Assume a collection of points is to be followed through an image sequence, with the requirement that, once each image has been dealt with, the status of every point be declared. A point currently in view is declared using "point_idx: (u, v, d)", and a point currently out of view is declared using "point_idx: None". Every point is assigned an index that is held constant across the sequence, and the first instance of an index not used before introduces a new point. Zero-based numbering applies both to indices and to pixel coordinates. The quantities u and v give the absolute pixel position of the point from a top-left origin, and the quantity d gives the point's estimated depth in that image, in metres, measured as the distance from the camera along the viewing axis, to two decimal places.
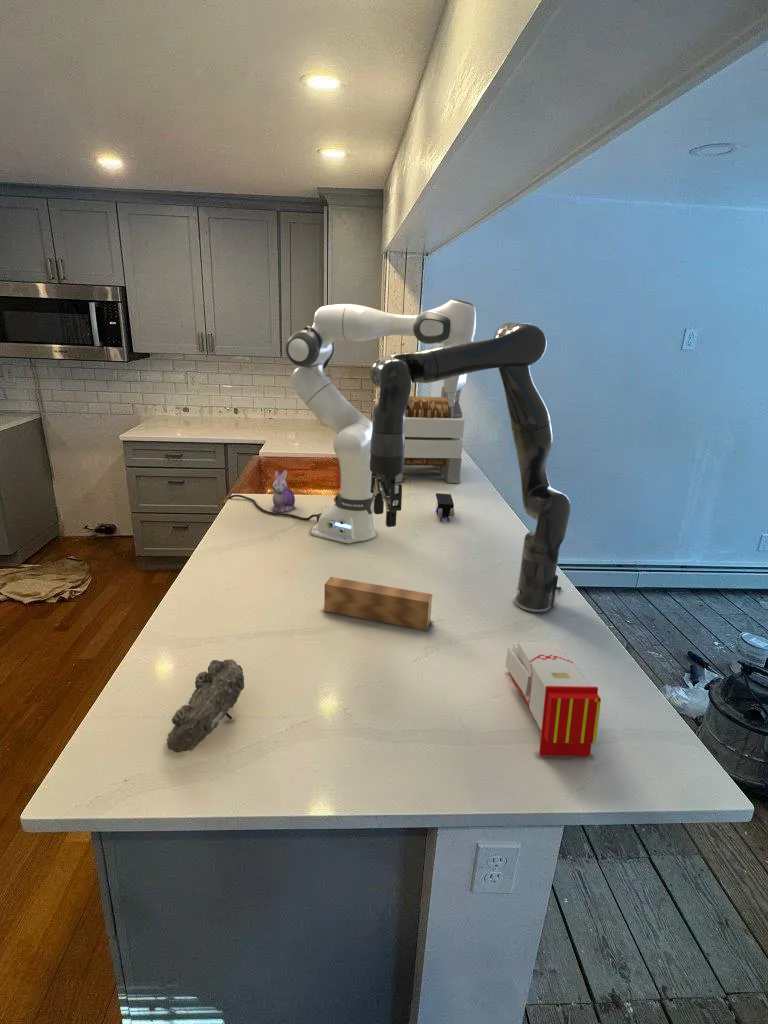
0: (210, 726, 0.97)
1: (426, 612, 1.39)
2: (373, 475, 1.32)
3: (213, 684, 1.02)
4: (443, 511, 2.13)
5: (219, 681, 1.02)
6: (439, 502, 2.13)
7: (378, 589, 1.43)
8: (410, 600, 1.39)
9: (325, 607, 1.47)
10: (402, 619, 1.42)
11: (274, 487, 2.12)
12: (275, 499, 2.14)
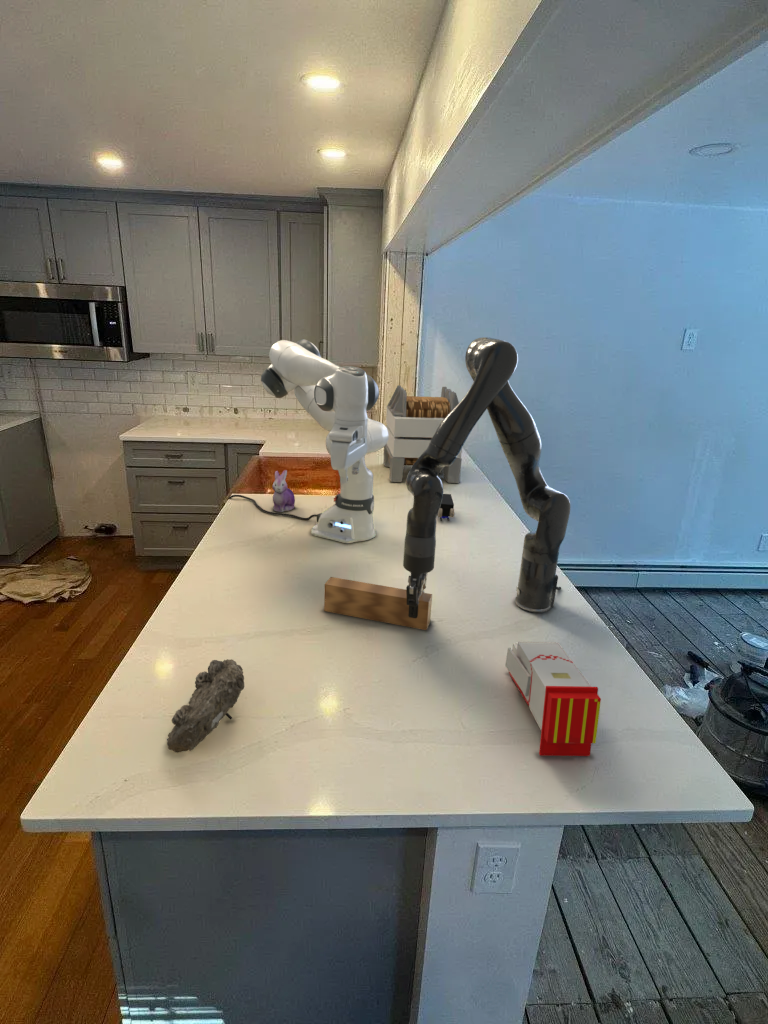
0: (210, 726, 0.97)
1: (426, 612, 1.39)
2: None
3: (213, 684, 1.02)
4: (443, 511, 2.13)
5: (219, 681, 1.02)
6: None
7: (378, 589, 1.43)
8: None
9: (325, 607, 1.47)
10: (402, 619, 1.42)
11: (274, 487, 2.12)
12: (275, 499, 2.14)
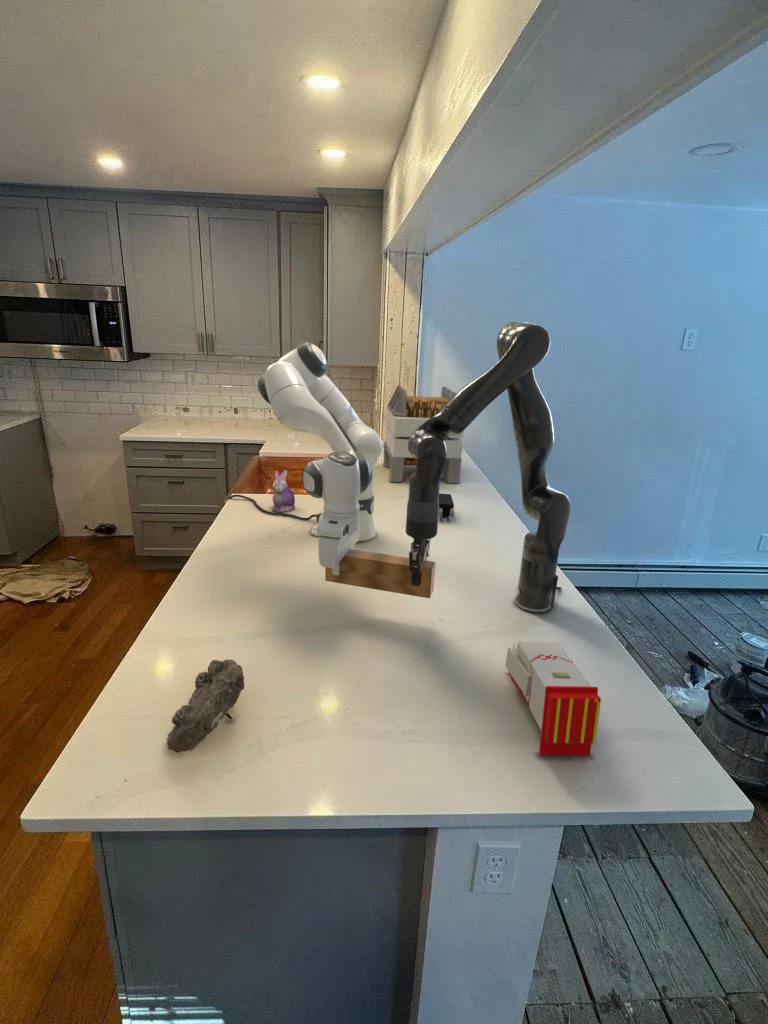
0: (210, 726, 0.97)
1: (429, 580, 1.36)
2: None
3: (213, 684, 1.02)
4: (443, 511, 2.13)
5: (219, 681, 1.02)
6: (439, 502, 2.13)
7: (380, 558, 1.40)
8: None
9: (326, 576, 1.44)
10: (405, 588, 1.39)
11: (274, 487, 2.12)
12: (275, 499, 2.14)
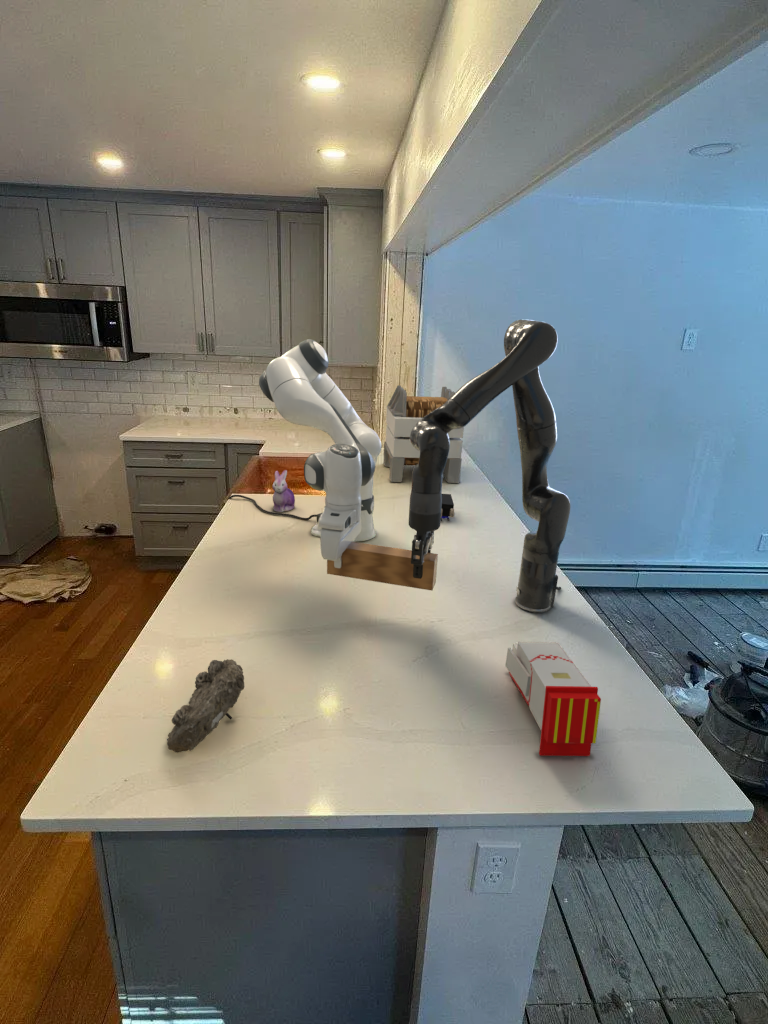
0: (210, 726, 0.97)
1: (432, 572, 1.36)
2: None
3: (213, 684, 1.02)
4: (443, 511, 2.13)
5: (219, 681, 1.02)
6: None
7: (382, 550, 1.39)
8: None
9: (328, 569, 1.43)
10: (407, 580, 1.38)
11: (274, 487, 2.12)
12: (275, 499, 2.14)
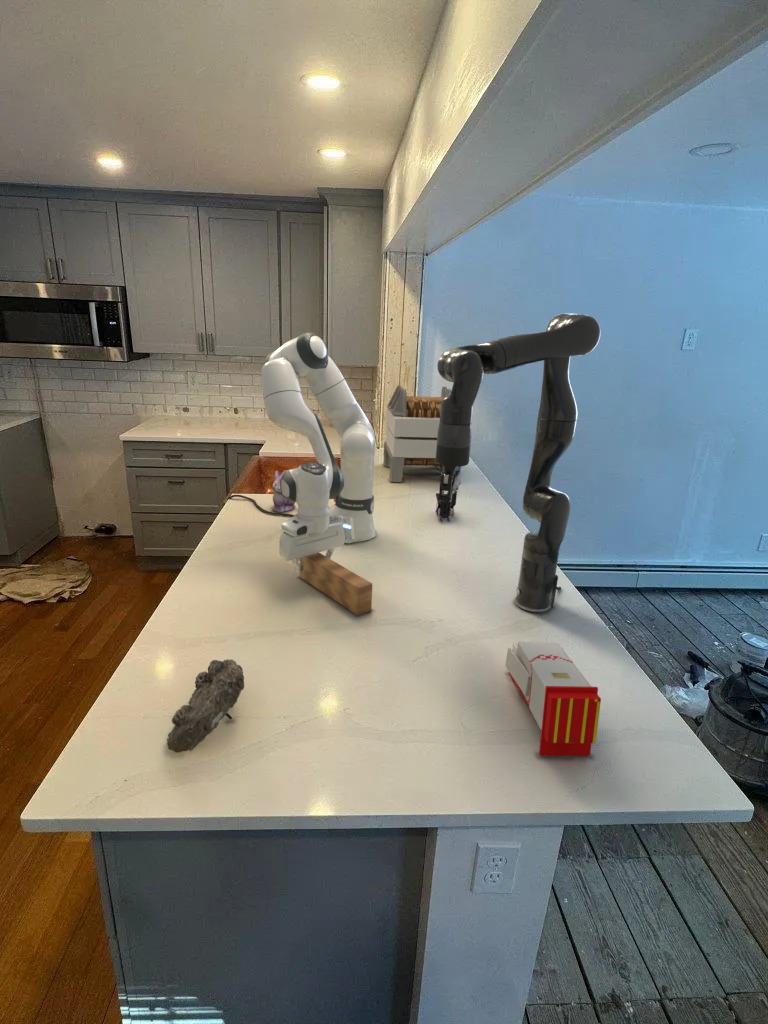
0: (210, 726, 0.97)
1: (357, 598, 1.44)
2: None
3: (213, 684, 1.02)
4: None
5: (219, 681, 1.02)
6: (439, 502, 2.13)
7: (333, 567, 1.54)
8: (347, 582, 1.47)
9: (300, 573, 1.64)
10: (343, 600, 1.50)
11: (274, 487, 2.12)
12: (275, 499, 2.14)
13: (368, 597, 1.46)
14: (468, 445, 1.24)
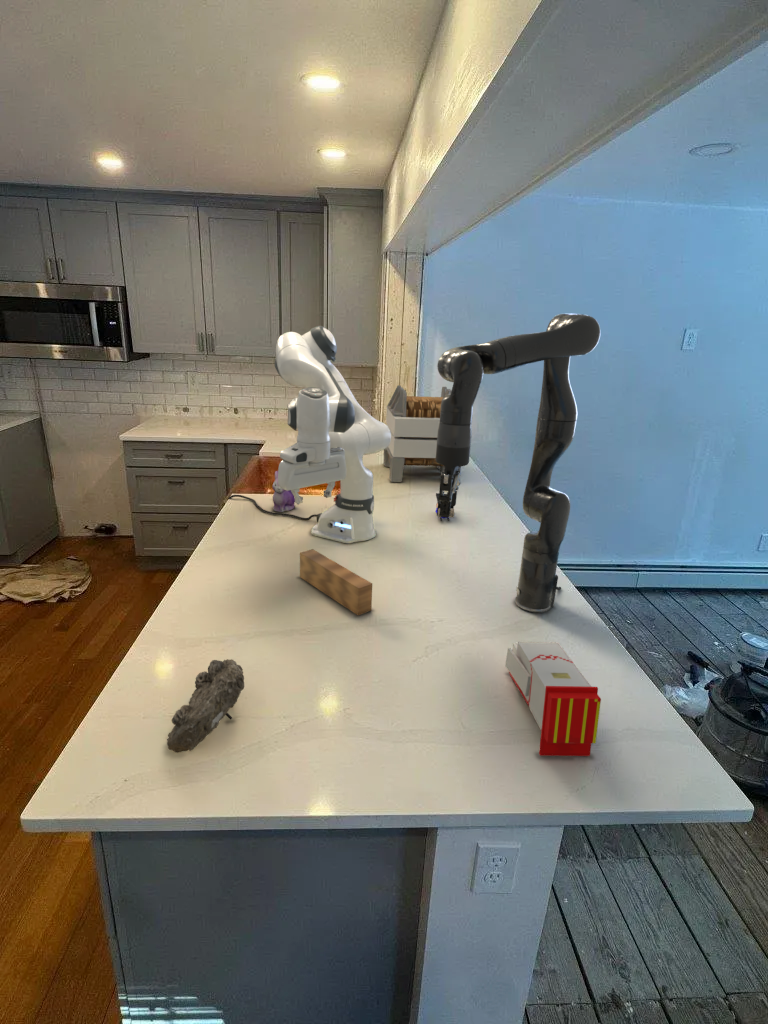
0: (210, 726, 0.97)
1: (357, 598, 1.44)
2: None
3: (213, 684, 1.02)
4: None
5: (219, 681, 1.02)
6: (439, 502, 2.13)
7: (333, 567, 1.54)
8: (347, 582, 1.47)
9: (300, 573, 1.64)
10: (343, 600, 1.50)
11: (274, 487, 2.12)
12: (275, 499, 2.14)
13: (368, 597, 1.46)
14: (468, 445, 1.24)
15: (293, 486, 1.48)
